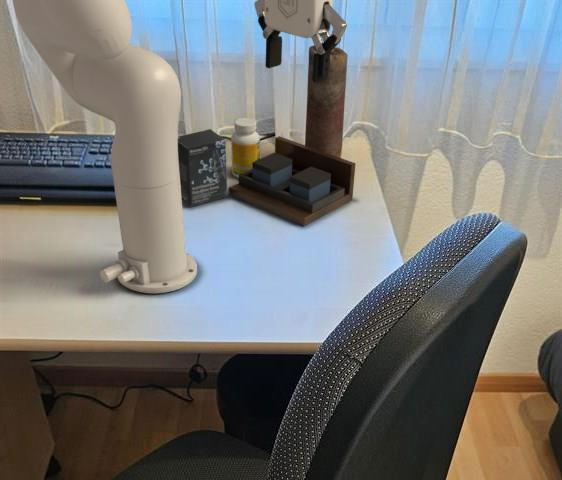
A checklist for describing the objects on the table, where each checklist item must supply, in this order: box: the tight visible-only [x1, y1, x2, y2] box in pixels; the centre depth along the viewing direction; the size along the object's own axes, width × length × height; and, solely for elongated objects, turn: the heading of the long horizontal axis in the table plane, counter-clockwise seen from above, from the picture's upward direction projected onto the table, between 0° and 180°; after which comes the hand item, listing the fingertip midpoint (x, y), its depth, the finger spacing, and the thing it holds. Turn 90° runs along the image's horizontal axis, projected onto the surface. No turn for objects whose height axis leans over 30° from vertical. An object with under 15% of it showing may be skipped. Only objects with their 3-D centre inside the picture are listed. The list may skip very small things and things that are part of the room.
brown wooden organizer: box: [228, 135, 357, 227], centre depth 136 cm, size 14×18×7 cm
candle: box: [304, 44, 349, 158], centre depth 143 cm, size 8×7×20 cm
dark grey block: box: [252, 152, 292, 187], centre depth 138 cm, size 6×4×4 cm
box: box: [178, 128, 228, 208], centre depth 134 cm, size 8×6×11 cm
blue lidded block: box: [290, 167, 331, 202], centre depth 134 cm, size 6×4×4 cm
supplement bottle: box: [230, 117, 261, 179], centre depth 142 cm, size 5×5×10 cm
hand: (296, 73), depth 119 cm, fingers open, 9 cm apart
